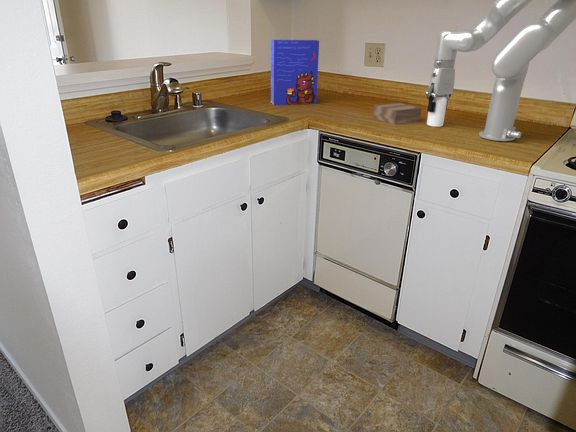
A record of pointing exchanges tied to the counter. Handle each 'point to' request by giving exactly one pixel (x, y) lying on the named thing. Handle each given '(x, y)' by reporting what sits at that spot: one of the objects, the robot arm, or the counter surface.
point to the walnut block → (396, 113)
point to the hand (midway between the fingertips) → (436, 110)
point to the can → (437, 112)
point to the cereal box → (294, 71)
